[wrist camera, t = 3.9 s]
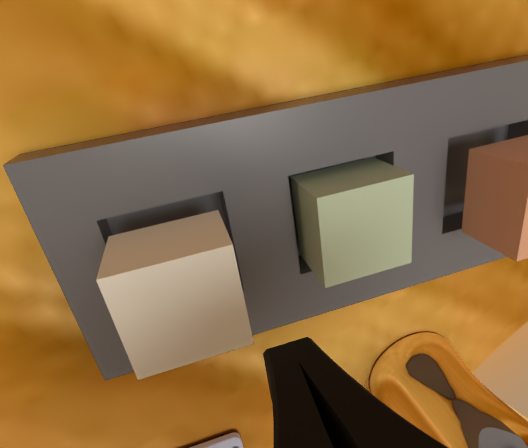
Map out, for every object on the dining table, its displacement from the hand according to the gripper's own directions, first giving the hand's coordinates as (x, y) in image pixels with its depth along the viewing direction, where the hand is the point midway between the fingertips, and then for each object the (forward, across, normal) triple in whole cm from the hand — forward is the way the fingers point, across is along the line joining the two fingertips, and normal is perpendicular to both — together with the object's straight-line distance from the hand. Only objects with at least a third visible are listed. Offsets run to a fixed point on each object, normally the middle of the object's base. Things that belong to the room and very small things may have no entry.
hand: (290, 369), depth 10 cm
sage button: (+7, -5, -1) cm, 9 cm away
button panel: (+8, -5, -1) cm, 9 cm away
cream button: (+5, +3, -1) cm, 6 cm away
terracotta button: (+5, -12, -1) cm, 13 cm away
